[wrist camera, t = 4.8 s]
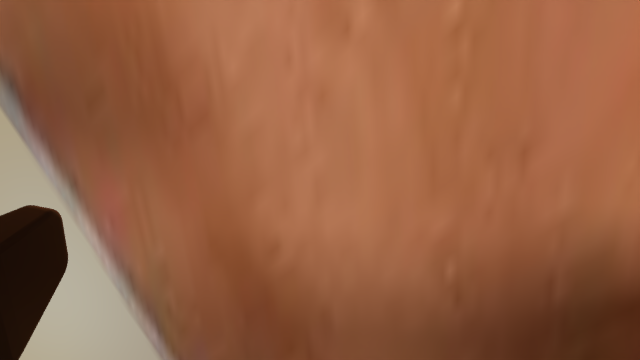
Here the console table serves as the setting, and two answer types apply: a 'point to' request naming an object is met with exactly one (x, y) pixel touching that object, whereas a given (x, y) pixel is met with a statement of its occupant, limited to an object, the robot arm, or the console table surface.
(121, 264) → the console table surface
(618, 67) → the console table surface
